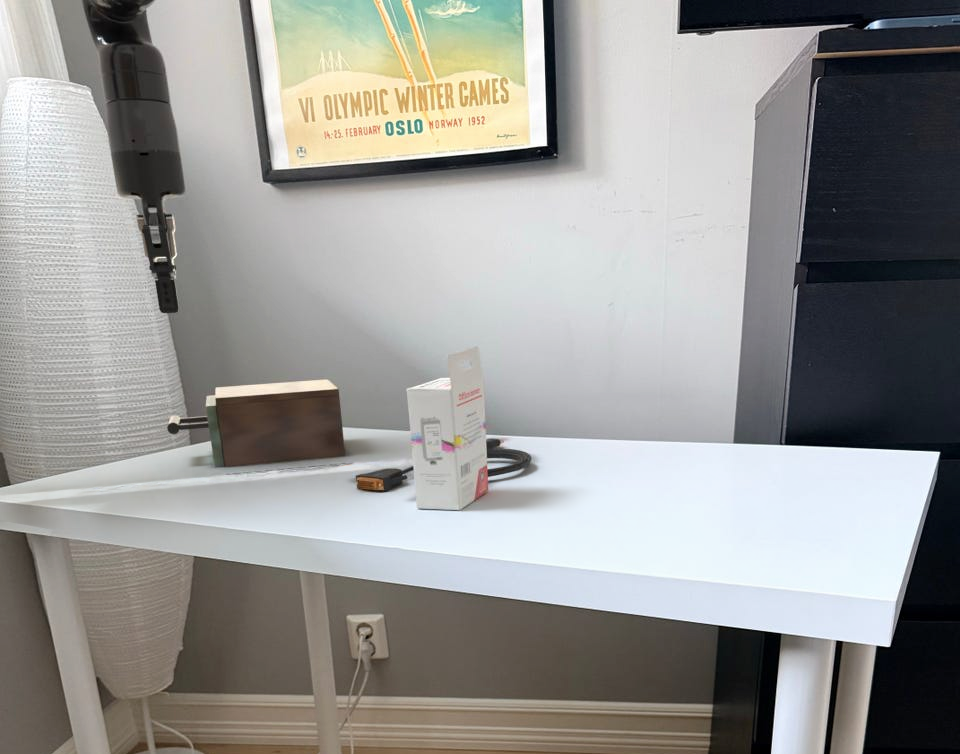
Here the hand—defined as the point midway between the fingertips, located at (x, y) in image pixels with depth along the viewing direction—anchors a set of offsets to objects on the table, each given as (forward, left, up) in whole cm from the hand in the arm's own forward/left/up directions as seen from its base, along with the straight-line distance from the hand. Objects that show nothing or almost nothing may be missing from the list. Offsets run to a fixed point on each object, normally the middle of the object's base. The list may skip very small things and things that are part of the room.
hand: (169, 312), depth 111 cm
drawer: (+7, -1, -18) cm, 19 cm away
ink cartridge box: (+26, -33, -19) cm, 46 cm away
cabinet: (+11, -1, -19) cm, 22 cm away
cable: (+32, -19, -19) cm, 42 cm away
